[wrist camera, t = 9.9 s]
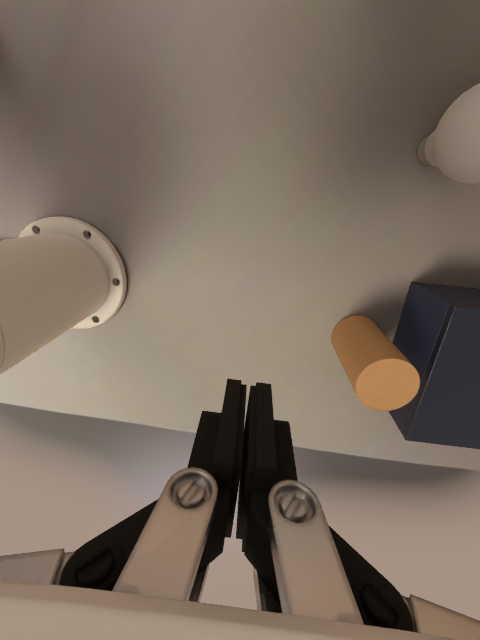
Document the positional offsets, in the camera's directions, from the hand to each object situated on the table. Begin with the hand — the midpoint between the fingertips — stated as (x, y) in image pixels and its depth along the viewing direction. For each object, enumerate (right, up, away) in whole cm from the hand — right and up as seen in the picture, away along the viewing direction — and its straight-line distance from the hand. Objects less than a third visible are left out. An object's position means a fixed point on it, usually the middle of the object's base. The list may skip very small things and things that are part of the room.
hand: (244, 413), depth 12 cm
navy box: (+21, +1, +23) cm, 31 cm away
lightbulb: (+17, +19, +16) cm, 30 cm away
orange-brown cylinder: (+17, 0, +21) cm, 27 cm away
